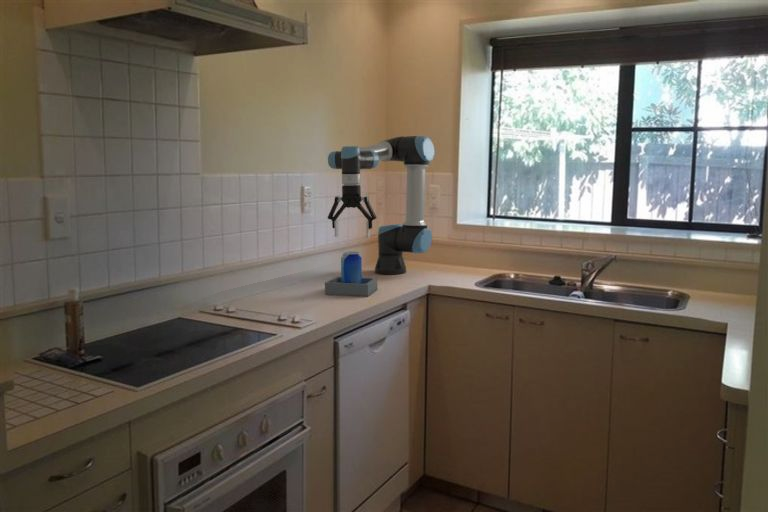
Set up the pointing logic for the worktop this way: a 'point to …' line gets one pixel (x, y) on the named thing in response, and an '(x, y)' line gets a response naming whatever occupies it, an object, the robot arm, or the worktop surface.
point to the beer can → (351, 267)
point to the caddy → (351, 287)
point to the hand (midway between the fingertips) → (352, 236)
